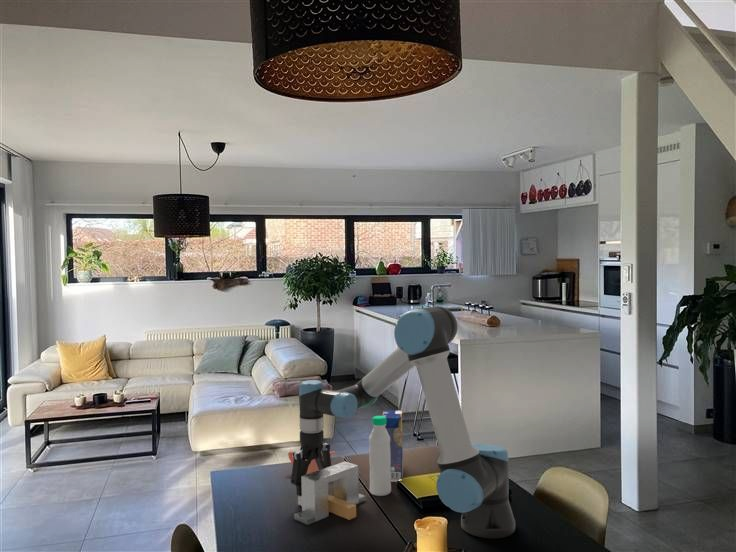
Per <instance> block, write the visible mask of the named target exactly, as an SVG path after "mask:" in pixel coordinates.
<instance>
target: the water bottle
mask: <svg viewBox="0 0 736 552" xmlns="http://www.w3.org/2000/svg"><path fill="white" fill-rule="evenodd" d="M386 423H387V420H386V417H384V416H382V415H375V416H373V417H372V418H371V424H372V426H373V428H372V430H371V433H370V434H369V437H368V442H369V446H368V447H369V450H368V460H369V462H368V463H369V464H368V465H369V492H370V493H371V495H373V496H376V497H384V496H388V495H389V494H391V492H392V486H391V485H392V482H390V480H391V472H390V464H391V454H390V436H389V434H388V432H387V430H386V428H385V426H386Z"/></svg>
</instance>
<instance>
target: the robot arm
mask: <svg viewBox="0 0 736 552" xmlns="http://www.w3.org/2000/svg"><path fill="white" fill-rule="evenodd" d="M396 321H397V322H396V323H395V326H394V330H393V334H394V340H395V344H396V345H397V348H396V349H395V350H394V351H393V352H391V353H390V354H389V355H388V356H387V357H386V358H384V359H383V360H382V361H381V362H380V363H379V364H377V365H376V366H375V367H374V368H373V369H372V370H370V371H369V372H368V373H367V374H366V375H365V376H363V377H362V379H360V380H359V381H358V382H356V383H355V384H354V385H351V386H348V387H344V388H342V389H338V390H333V389H331V390H330V389H325V387H324V383H323V381H321V380H319V379H317V380H316V379H310V380H309V379H308V380H304V381H302V382H300V384H299V392H298V399H299V400H298V402H299V430H300V431H299V442H300V449H299V450H297V452H296V451H294V452H293V455H292V456H293V464H292V470H291V478H290V483H291V484H292V485H293V486H295V488H296V490H295V491H296V495H297V504H298V505H299V506H301V507H302V482H301V476H304V475H306V473H307V470H308V466H309V464H310V463H311V461H312V460H313V459H315V461H316V464H317V466H318V469H319V470H321V469H324V468H327V467H330V466H333V465H332V458H330V452H331V444H330V443H327V442H324V440H325V439H324V437H325V436H324V428H325V427H324V415H327V416H332V417H336V418H339V419H342V418H343V419H345V418H346V419H349V418H352V417H353V416H354V414H356V412H357V410H360V409H362V408H366V407H369V406H370V405H372V404H375V402H377V400H378V398H379V396H381V394H383V393H384V392H385V391H386V390H387V389H389V388H390V387H392V385H393V384H394V383H396V382H397V381H398V380H400V379H401V378H402V377H404V375H406V374H407V373H408V372H409V371H411V370H412V369H413V368H415V367H416V370H417V374H418V377H419V381H420V384H421V387H422V388H421V389H422V391H423V392H422V393H423V394H424V399H425V403H426V407H427V409H428V413H429V417H430V421H431V424H432V427H433V431H434V434H435V439H436V441H437V445H438V449H439V453H440V455H439V457H438V458H437V462H436V463H437V465H438V470H439V474H438V477H437V480H436V484H435V486H436V487H435V488H436V492H437V495H438V497H439V499H440V500H441V502H442V503H443V504H444V505H445V506H446V507H448V508H449V509H451V510H452V511H454V512H457V513H461V516H460V526H461V529H462V530H463V531H464V532H465V533H467V534H469V535H470V536H475V537H476V538H477V537H478V538H483V539H502V538H506V537H509V536H511V535H513V534H514V532H516V519H515V517H514V514H513V510H512V507H511V504H510V500H509V499H510V498H509V497H510V496H509V495H510V494H509V493H510V492H509V489H510V488H509V487H510V486H509V481H510V480H509V476H510V475H509V462H510V460H509V453H508V450H507V449H506V448H505V447H502V446H499V445H495V444H489V443H472V442H471V438H470V434H469V431H468V428H467V424H466V422H465V417H464V413H463V410H462V407H461V404H460V400H459V397H458V393H457V390H456V386H455V383H454V379H453V376H452V372H451V369H450V366H449V365H450V364H449V361H448V356H449V355H450V352H451V348H450V345H449V344H450V343H452V341H454V339H455V337H456V335H457V334H458V327H459V325H458V320H457V319H456V316H455V315H454V314H453V312H451V310H450V309H448V308H446V307H443V306H438V305H436V306H430V307H421V308H414V309H411V310H409V311H406V312H404V313H403V314H401V315H400V316H399V318H398V319H397V320H396ZM322 456H323V457H322ZM305 459H306V460H307V461H306V460H305Z"/></svg>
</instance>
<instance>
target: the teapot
mask: <svg viewBox="0 0 736 552" xmlns="http://www.w3.org/2000/svg"><path fill="white" fill-rule="evenodd" d="M293 452H295V451H293V450H292V451H291V450H290V451H288V453H287V457H288V459H289V461H290V463H291V464H292V465H293ZM335 452H336V451H334V450H333V451H330V458H331V457H332V455H333V454H334V453H335ZM322 457H323V455H322ZM331 459H332V458H331ZM305 460H306V459H305ZM306 461H307V460H306ZM318 470H319V469H318V466H317V464H316V461H315V459H313V460H312V461H311V463H310V464H309V466H308V470H307V473H306V475H307V474H310V473H312V472H315V471H318Z"/></svg>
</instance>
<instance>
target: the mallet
mask: <svg viewBox="0 0 736 552" xmlns="http://www.w3.org/2000/svg"><path fill="white" fill-rule="evenodd" d="M328 511H329V513H332V514H334V515H336V516H338V517H341V518H344V519H347V520H348V521H349V520H353V519H354V518H357V504H356V505H355V504H352V503H349V502H347V501H344V500H342V499H339V498H336V497H334V496H333V495H331V494H329V493H328Z"/></svg>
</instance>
